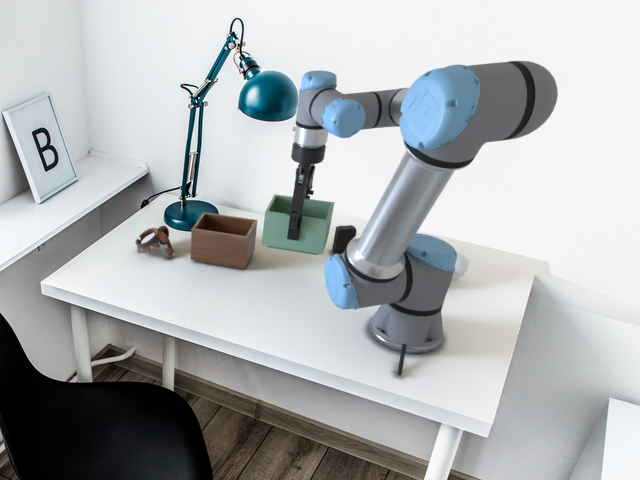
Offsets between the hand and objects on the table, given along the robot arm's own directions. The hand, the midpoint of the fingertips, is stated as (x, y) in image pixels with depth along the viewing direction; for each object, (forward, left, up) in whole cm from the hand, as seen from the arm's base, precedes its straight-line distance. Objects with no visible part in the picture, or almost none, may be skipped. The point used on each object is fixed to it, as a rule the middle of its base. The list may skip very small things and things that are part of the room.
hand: (296, 229), depth 163 cm
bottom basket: (+2, +19, -13) cm, 23 cm away
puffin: (+11, -39, -9) cm, 41 cm away
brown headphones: (-1, +37, -13) cm, 39 cm away
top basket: (0, 0, -4) cm, 4 cm away
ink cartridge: (+15, -11, -13) cm, 23 cm away
